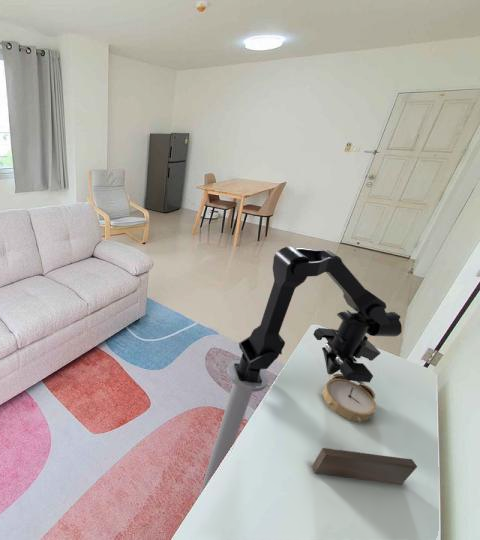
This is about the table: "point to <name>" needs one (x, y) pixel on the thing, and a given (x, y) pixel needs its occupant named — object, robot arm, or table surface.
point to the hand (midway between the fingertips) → (329, 373)
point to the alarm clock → (349, 398)
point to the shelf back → (363, 466)
